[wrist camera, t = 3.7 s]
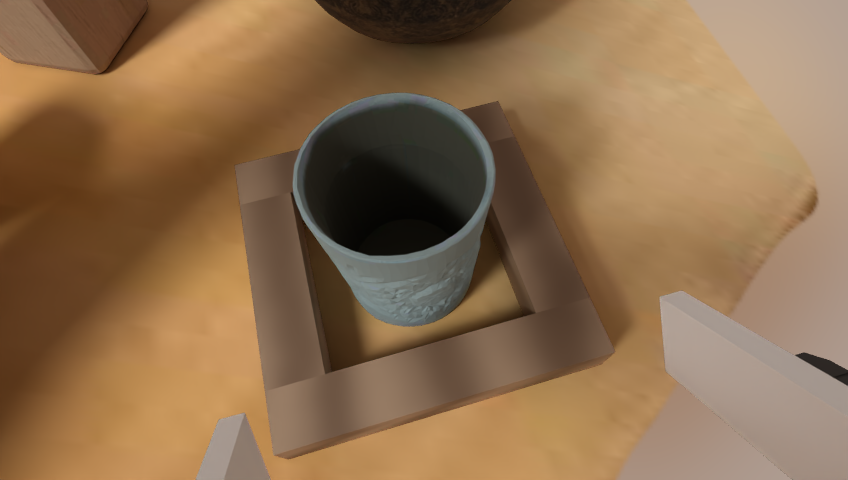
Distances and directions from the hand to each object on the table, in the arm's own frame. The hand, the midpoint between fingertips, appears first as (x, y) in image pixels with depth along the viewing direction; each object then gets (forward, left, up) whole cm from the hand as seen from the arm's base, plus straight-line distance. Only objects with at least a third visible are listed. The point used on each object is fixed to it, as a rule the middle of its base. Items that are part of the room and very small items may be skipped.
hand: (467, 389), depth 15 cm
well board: (0, +12, -16) cm, 20 cm away
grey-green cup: (0, +12, -17) cm, 20 cm away
